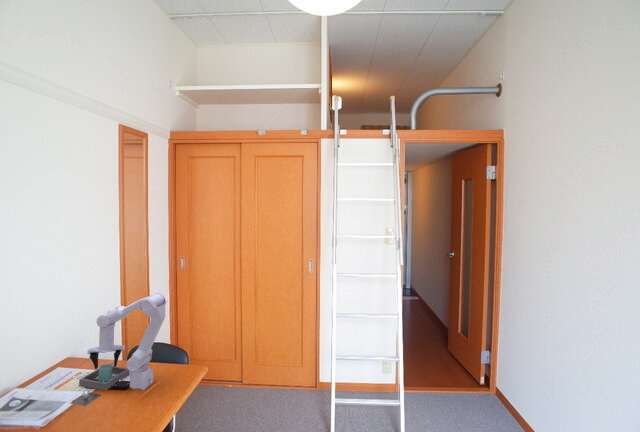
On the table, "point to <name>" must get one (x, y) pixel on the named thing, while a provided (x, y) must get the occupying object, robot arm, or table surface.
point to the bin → (104, 386)
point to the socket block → (105, 372)
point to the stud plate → (85, 398)
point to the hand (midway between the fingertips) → (106, 366)
